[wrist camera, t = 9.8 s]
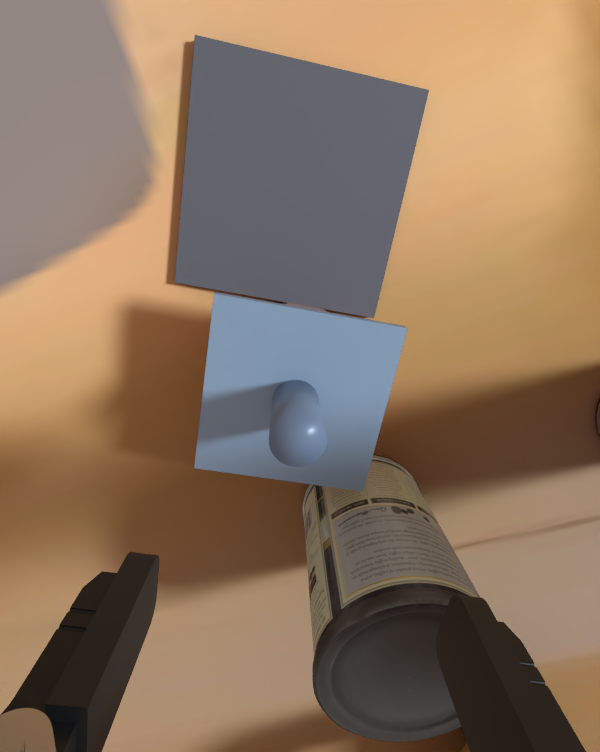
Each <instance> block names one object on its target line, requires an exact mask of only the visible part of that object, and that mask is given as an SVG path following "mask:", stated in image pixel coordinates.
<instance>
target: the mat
mask: <svg viewBox="0 0 600 752" xmlns="http://www.w3.org/2000/svg"><path fill="white" fill-rule="evenodd" d="M428 92H429V90H426V89H422V88H418V87H413V86H409V85H405V84H401V83H396V82H392V81H388V80H384V79H379V78H375V77H371V76H367V75H363V74H358V73H354V72H350V71H346V70H341V69H337V68H333V67H329V66H324V65H320V64H316V63H312V62H307V61H303V60H299V59H295V58H291V57H286V56H282V55H278V54H274V53H269V52H265V51H261V50H257V49H252V48H248V47H244V46H240V45H235V44H231V43H227V42H223V41H219V40H214V39H210V38H206V37H202V36H197V35H195V40H194V52H193V64H192V77H191V89H190V101H189V113H188V126H187V138H186V150H185V162H184V174H183V187H182V199H181V211H180V223H179V236H178V248H177V260H176V272H175V283H181V284H186V285H192V286H197V287H203V288H209V289H214V290H220V291H225V292H231V293H236V294H242V295H248V296H253V297H259V298H264V299H270V300H276V301H281V302H287V303H292V304H298V305H303V306H309V307H315V308H320V309H326V310H331V311H337V312H342V313H348V314H354V315H359V316H365V317H370V318H374V315H375V311H376V307H377V303H378V299H379V295H380V291H381V286H382V282H383V278H384V274H385V270H386V266H387V262H388V257H389V253H390V249H391V245H392V241H393V237H394V233H395V228H396V224H397V220H398V216H399V212H400V208H401V204H402V200H403V195H404V191H405V187H406V183H407V179H408V175H409V171H410V166H411V162H412V158H413V154H414V150H415V146H416V142H417V137H418V133H419V129H420V125H421V121H422V117H423V113H424V108H425V104H426V100H427V96H428Z"/></svg>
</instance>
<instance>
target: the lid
mask: <svg viewBox="0 0 600 752" xmlns="http://www.w3.org/2000/svg"><path fill="white" fill-rule="evenodd" d="M407 329H408V328H406V327H405V326H402V325H397V324H391V323H386V322H380V321H375V320H369V319H364V318H358V317H352V316H347V315H341V314H336V313H330V312H325V311H319V310H313V309H308V308H302V307H297V306H291V305H286V304H280V303H274V302H269V301H263V300H258V299H252V298H247V297H241V296H235V295H230V294H224V293H219V292H216V293H214V298H213V307H212V316H211V324H210V333H209V342H208V351H207V360H206V368H205V377H204V386H203V395H202V403H201V412H200V421H199V430H198V439H197V447H196V456H195V465H194V468H196V469H203V470H210V471H217V472H225V473H232V474H239V475H246V476H253V477H261V478H268V479H275V480H282V481H289V482H297V483H304V484H311V485H318V486H326V487H333V488H340V489H347V490H354V491H362V492H363V491H364V487H365V483H366V480H367V476H368V472H369V469H370V465H371V461H372V458H373V454H374V450H375V447H376V443H377V439H378V435H379V432H380V428H381V424H382V421H383V417H384V413H385V410H386V406H387V402H388V399H389V395H390V391H391V388H392V384H393V380H394V377H395V373H396V369H397V365H398V362H399V358H400V354H401V351H402V347H403V343H404V340H405V336H406V332H407Z"/></svg>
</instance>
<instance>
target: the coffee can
mask: <svg viewBox="0 0 600 752" xmlns="http://www.w3.org/2000/svg"><path fill="white" fill-rule="evenodd" d="M302 513H303V520H304V527H305V543H306V555H307V568H308V581H309V594H310V611H311V623H312V635H313V648H314V661H313V688H314V693H315V696H316V699H317V701H318V703H319V705H320V706H321V708H322V709H323V711H324V712H325V713H326V714H327V716H328V717H329V718H330V719H331V720H332V721H334V722H335V723H336V724H337V725H339V726H340V727H342V728H343V729H345V730H347V731H349V732H352V733H354V734H357V735H360V736H363V737H366V738H371V739H375V740H382V741H391V742H403V741H415V740H422V739H427V738H431V737H435V736H438V735H442V734H445V733H447V732H450V731H452V730H454V729H457V728H459V727H461V725H460V722H459V719H458V716H457V713H456V710H455V708H454V705H453V702H452V699H451V696H450V693H449V690H448V688H447V685H446V682H445V679H444V676H443V673H442V671H441V668H440V665H439V662H438V658H437V653H436V637H437V633H438V630H439V628H440V625H441V622H442V620H443V617H444V614H445V612H446V609H447V606H448V604H449V601H450V599H451V597H452V596H453V595H463V596H471V597H479V598H480V596H479V594H478V593H477V591H476V589H475V587H474V586H473V584H472V582H471V580H470V579H469V577H468V575H467V573H466V571H465V570H464V568H463V566H462V564H461V563H460V561H459V559H458V557H457V556H456V554H455V552H454V550H453V549H452V547H451V545H450V543H449V542H448V540H447V538H446V536H445V534H444V532H443V531H442V529H441V527H440V526H439V524H438V522H437V520H436V519H435V517H434V515H433V513H432V511H431V510H430V508H429V506H428V505H427V503H426V501H425V499H424V497H423V496H422V494H421V492H420V490H419V488H418V485H417V483H416V481H415V480H414V478H413V477H412V475H411V474H410V473H409V472H408V471H407V470H406V469H405V468H404V467H402V466H401V465H400V464H398V463H396V462H394V461H393V460H391V459H388V458H385V457H380V456H375V455H373V458H372V461H371V465H370V469H369V472H368V476H367V480H366V483H365V487H364V491H363V492H362V491H354V490H347V489H340V488H333V487H326V486H318V485H311V484H310V485H309V486H308V488H307V490H306V493H305V496H304V500H303V507H302Z"/></svg>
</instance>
